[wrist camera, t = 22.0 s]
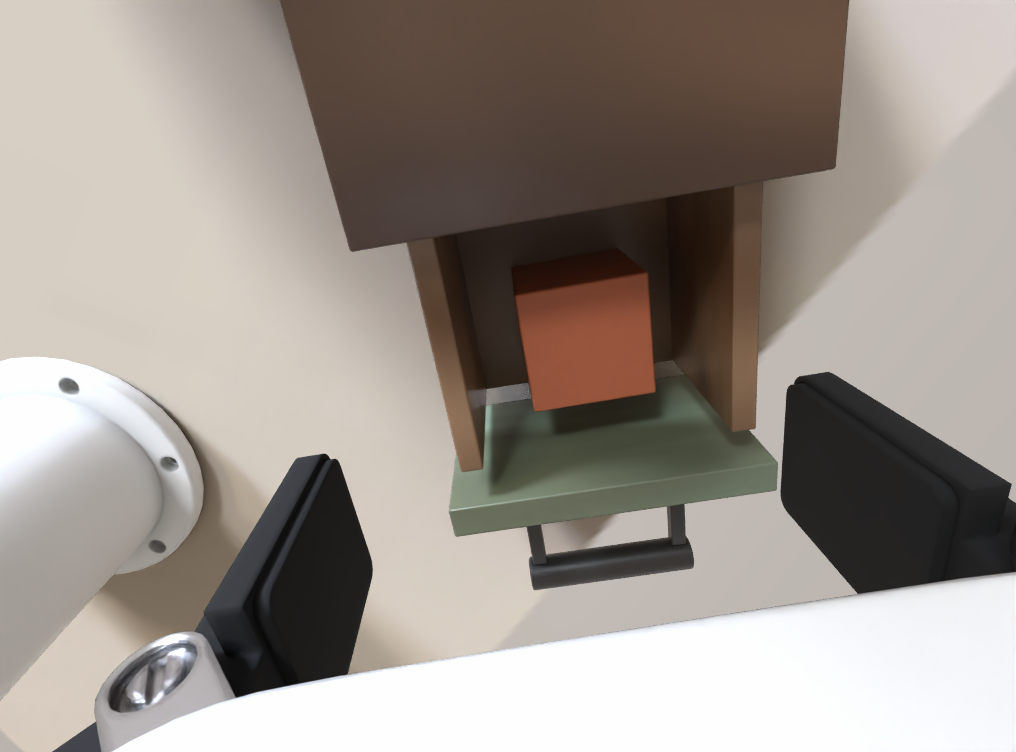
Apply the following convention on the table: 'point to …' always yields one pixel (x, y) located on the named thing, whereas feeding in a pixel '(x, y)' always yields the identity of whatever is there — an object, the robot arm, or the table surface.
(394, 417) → the table surface
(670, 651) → the robot arm
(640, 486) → the drawer
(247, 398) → the table surface
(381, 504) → the table surface
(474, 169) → the cabinet
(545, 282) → the block
